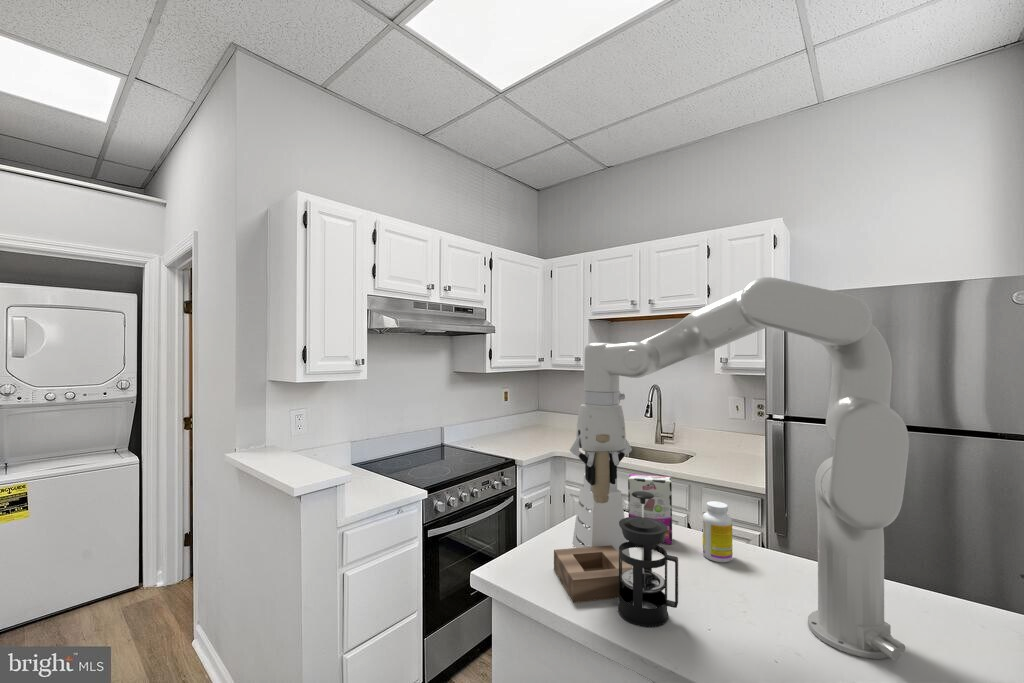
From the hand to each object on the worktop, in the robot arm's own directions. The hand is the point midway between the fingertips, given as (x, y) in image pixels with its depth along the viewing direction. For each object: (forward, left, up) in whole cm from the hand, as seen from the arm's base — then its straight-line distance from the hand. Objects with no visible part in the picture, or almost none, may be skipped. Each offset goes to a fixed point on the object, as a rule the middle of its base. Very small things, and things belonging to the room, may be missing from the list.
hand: (600, 482), depth 101 cm
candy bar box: (+19, -21, -22) cm, 36 cm away
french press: (-13, -4, -22) cm, 26 cm away
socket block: (0, +2, -22) cm, 22 cm away
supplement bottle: (+6, -32, -22) cm, 39 cm away
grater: (+14, -5, -22) cm, 26 cm away
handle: (0, 0, -4) cm, 4 cm away
